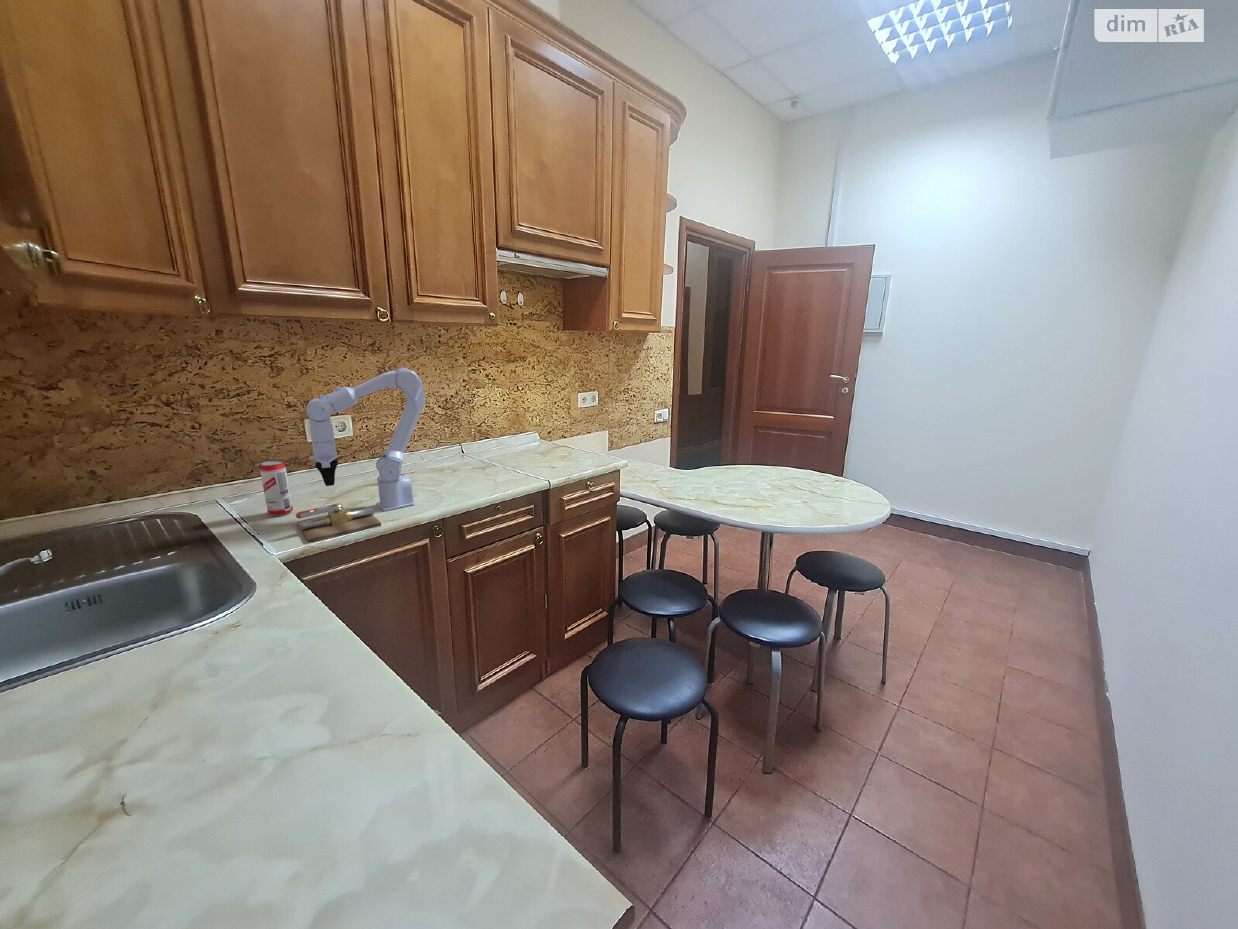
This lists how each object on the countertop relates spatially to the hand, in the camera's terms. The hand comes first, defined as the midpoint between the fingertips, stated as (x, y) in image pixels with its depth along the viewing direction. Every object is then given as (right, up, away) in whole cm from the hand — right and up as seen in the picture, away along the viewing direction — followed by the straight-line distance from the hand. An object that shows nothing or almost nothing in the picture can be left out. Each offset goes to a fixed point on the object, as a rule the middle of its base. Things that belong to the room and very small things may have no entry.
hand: (330, 485), depth 142 cm
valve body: (+6, -11, -5) cm, 14 cm away
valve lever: (+3, -8, -10) cm, 13 cm away
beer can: (-16, -9, +3) cm, 19 cm away
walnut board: (+6, -11, -5) cm, 14 cm away
